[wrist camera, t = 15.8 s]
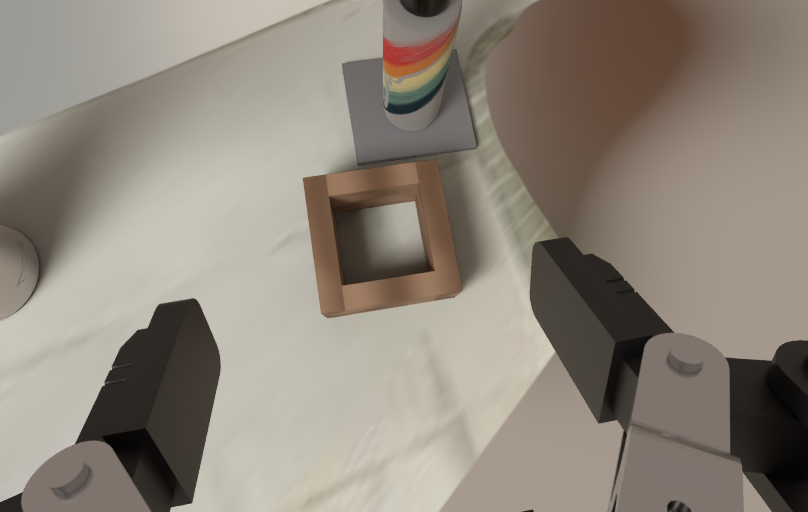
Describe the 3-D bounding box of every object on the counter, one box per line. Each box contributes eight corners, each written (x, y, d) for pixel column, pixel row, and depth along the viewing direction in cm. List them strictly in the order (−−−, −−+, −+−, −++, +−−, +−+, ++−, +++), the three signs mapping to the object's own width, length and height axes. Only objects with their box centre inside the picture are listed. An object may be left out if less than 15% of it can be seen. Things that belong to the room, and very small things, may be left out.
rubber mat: (358, 165, 48) (357, 163, 48) (342, 67, 50) (342, 63, 50) (475, 148, 49) (476, 146, 49) (455, 52, 51) (456, 49, 51)
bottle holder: (327, 318, 45) (321, 313, 40) (311, 196, 47) (302, 177, 42) (454, 297, 46) (462, 290, 41) (431, 179, 48) (437, 158, 43)
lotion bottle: (373, 94, 49) (367, -80, 30) (423, 73, 50) (449, -111, 30) (398, 141, 48) (408, -7, 29) (448, 119, 49) (492, -40, 29)
